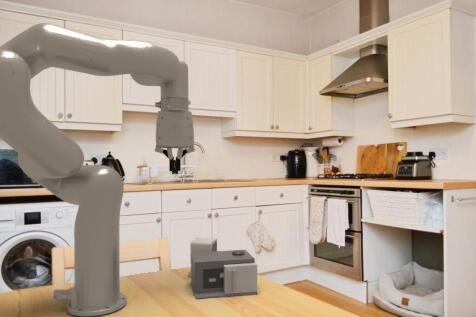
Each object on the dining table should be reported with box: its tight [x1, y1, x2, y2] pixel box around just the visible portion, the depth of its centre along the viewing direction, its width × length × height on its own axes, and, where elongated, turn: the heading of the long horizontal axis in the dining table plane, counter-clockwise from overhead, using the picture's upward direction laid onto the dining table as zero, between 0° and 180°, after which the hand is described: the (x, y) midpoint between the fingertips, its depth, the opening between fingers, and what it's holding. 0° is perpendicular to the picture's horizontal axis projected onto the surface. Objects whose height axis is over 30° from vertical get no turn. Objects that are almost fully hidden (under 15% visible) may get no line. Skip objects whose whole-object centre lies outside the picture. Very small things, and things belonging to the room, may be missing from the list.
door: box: [224, 262, 258, 294], centre depth 91 cm, size 8×2×6 cm, turn 102°
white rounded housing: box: [187, 237, 218, 278], centre depth 107 cm, size 6×7×10 cm
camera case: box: [190, 249, 258, 300], centre depth 95 cm, size 15×12×9 cm
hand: (174, 173), depth 102 cm, fingers closed
